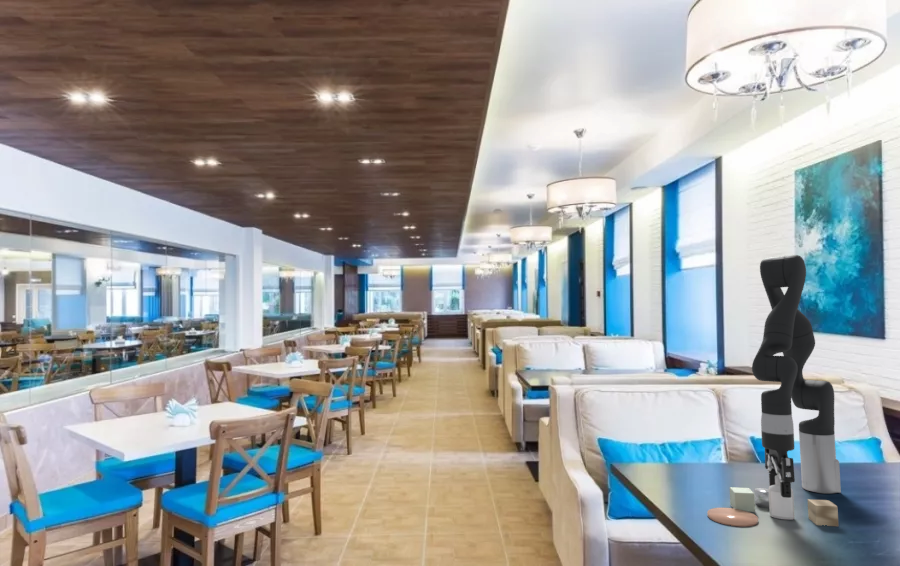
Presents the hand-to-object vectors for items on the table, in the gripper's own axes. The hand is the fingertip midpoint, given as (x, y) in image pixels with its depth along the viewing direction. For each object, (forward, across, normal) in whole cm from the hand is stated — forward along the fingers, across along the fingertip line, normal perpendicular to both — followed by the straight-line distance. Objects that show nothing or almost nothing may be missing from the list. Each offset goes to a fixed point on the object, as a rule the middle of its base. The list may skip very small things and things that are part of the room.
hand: (780, 492), depth 148 cm
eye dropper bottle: (+7, 0, 0) cm, 7 cm away
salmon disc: (+7, -3, +13) cm, 15 cm away
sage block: (+7, +6, +8) cm, 12 cm away
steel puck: (+6, +10, +1) cm, 12 cm away
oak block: (+7, -2, -9) cm, 12 cm away
